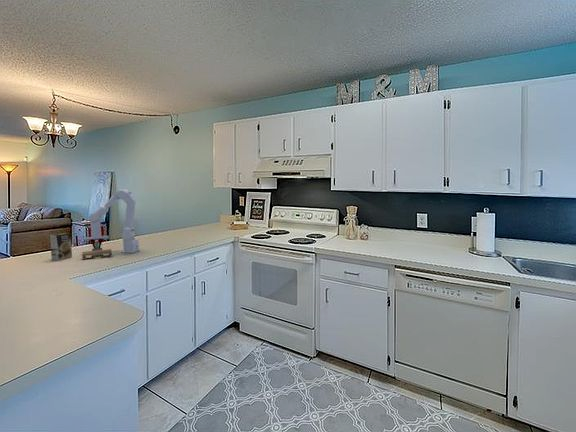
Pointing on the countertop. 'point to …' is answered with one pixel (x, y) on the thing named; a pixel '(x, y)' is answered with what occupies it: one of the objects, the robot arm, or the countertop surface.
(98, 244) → the scraper
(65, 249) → the coffee box
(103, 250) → the wooden stand
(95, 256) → the puck
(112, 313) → the countertop surface
